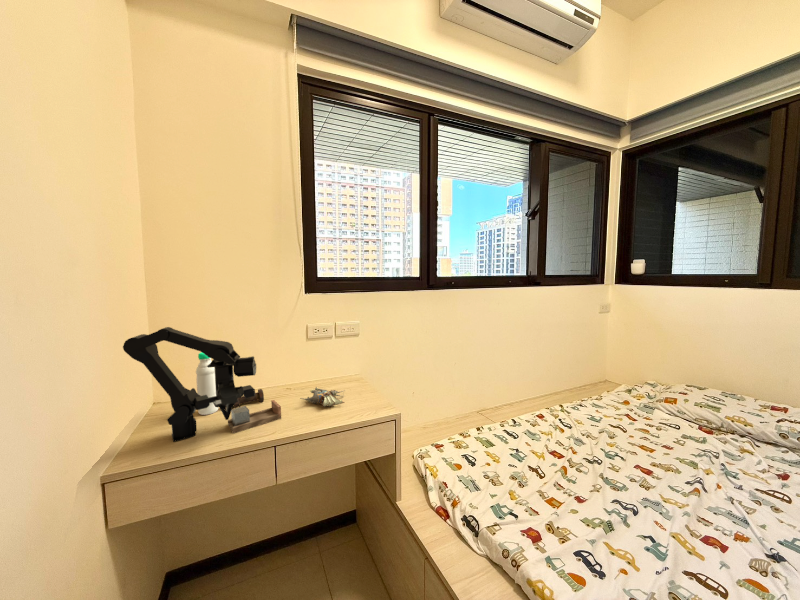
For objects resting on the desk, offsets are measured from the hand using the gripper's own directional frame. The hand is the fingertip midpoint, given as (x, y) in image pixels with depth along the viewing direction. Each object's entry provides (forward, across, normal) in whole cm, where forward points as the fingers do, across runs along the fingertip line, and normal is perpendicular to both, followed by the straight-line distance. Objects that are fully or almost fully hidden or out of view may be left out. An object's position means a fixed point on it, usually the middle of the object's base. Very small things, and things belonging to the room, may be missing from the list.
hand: (226, 419), depth 111 cm
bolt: (+4, +10, +20) cm, 23 cm away
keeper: (+3, +5, 0) cm, 5 cm away
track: (+4, +10, 0) cm, 10 cm away
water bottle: (+4, -3, +22) cm, 23 cm away
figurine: (+5, +38, -3) cm, 39 cm away
